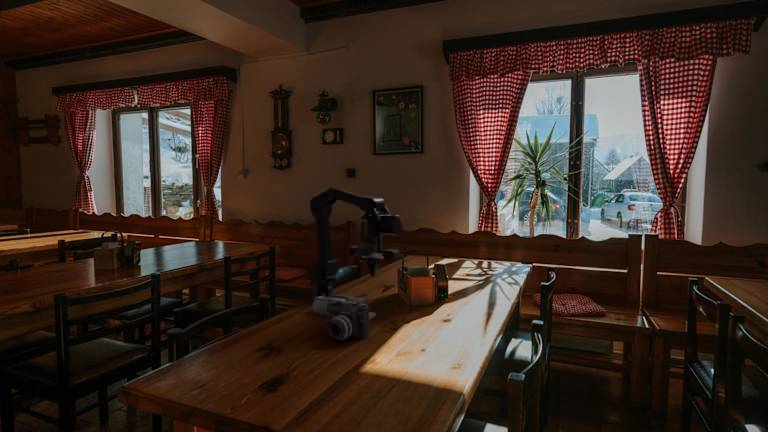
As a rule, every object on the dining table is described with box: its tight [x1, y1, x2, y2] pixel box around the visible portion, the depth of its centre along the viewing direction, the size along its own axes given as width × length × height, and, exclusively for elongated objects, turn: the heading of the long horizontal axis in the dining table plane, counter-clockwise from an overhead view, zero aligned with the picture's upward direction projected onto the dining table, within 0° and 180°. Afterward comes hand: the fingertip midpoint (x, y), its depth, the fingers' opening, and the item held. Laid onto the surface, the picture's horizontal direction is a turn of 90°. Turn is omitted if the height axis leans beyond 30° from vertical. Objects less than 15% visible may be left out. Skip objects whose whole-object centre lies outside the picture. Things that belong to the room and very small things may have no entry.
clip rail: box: [369, 311, 377, 321], centre depth 154 cm, size 8×5×1 cm, turn 62°
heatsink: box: [312, 292, 357, 316], centre depth 158 cm, size 15×10×5 cm, turn 62°
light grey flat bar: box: [319, 296, 349, 302], centre depth 158 cm, size 14×2×1 cm, turn 62°
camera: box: [326, 299, 371, 341], centre depth 133 cm, size 14×11×10 cm
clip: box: [346, 296, 366, 306], centre depth 155 cm, size 5×4×4 cm
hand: (373, 276), depth 161 cm, fingers closed
